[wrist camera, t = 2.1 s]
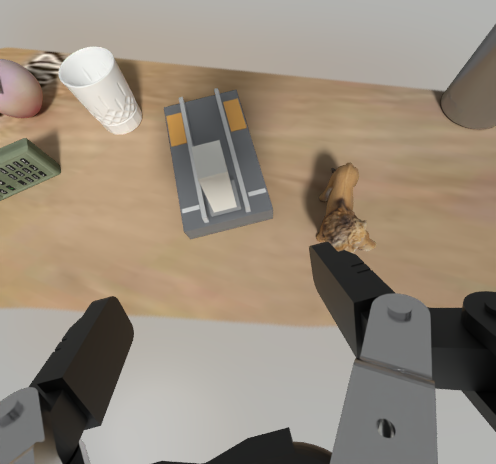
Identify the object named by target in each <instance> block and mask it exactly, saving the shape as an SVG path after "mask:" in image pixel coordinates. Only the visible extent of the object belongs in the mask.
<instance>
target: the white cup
mask: <svg viewBox="0 0 496 464" xmlns="http://www.w3.org/2000/svg"><path fill="white" fill-rule="evenodd" d="M59 78H60V80H61V82H62V83H63V84H64V85H65V86H66V87H67V88H68V89H69V90H70V91H71V92H72V94H73V95H74V96H75V97H76V98H77V99H78V100H79V101H80V102H81V103H82V104H83V106H84V107H85V108H86V109H87V110H88V111H89V112H90V113H91V114H92V115H93V116H94V117H95V118H96V119H97V120H98V121H99V122H100V123H101V124H102V125H103V126H104V127H105V128H106V130H107V131H109V132H111V133H113V134H116V135H123V134H126V133H129V132H132V131H133V130H134V129H135V128H137V127H138V126H139V124H140V122H141V120H142V112H141V110H140V108H139V106H138V104H137V102H136V100H135V98H134V95H133V93H132V91H131V89H130V87H129V85H128V83H127V81H126V79H125V77H124V76H123V74H122V72H121V70H120V68H119V66H118V64H117V62H116V60H115V59H114V57H113V55H112V53H111V52H110V51H108V50H107V49H105V48H102V47H87V48H83V49H80V50H78V51H76V52H74V53H72V54H71V55H69V56H68V57H67V58H66V59H65V60H64V61H63V63H62V64H61V66H60V69H59Z"/></svg>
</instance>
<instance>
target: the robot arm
mask: <svg viewBox="0 0 496 464" xmlns="http://www.w3.org/2000/svg"><path fill="white" fill-rule="evenodd" d="M441 106H442V109H443V111H444V113H445V114H446V115H447V117H448V118H450V119H451V120H452V121H453V122H455V123H457V124H459V125H461V126H464V127H467V128H471V129H488V128H492V127H494V126H496V24H495V25H494V27H493V28H492V30H491V31H490V32H489V34H488V35H487V36H486V38H485V39H484V40H483V42H482V43H481V44H480V46H479V47H478V48H477V50H476V51H475V52H474V54H473V55H472V57H471V58H470V59H469V60H468V62H467V63H466V64H465V66H464V67H463V68H462V70H461V71H460V72H459V74H458V75H457V76H456V78H455V79H454V80H453V82H452V83H451V84H450V86H449V88H447V90H446V91H445V92H444V94H443V96H442V98H441ZM309 252H310V259H311V266H312V273H313V279H314V283H315V286H316V289H317V291H318V293H319V295H320V297H321V298H322V300H323V302H324V303H325V305H326V307H327V309H328V310H329V312H330V314H331V315H332V317H333V319H334V320H335V322H336V324H337V326H338V327H339V329H340V331H341V332H342V334H343V336H344V338H345V339H346V341H347V343H348V344H349V346H350V348H351V349H352V351H353V353H354V355H355V356H356V359H355V361H354V364H353V368H352V372H351V376H350V381H349V384H348V389H347V393H346V398H345V401H344V406H343V410H342V414H341V418H340V423H339V427H338V431H337V435H336V439H335V444H334V448H333V452H330V451H328V450H326V449H324V448H321V447H319V446H316V445H312V444H308V443H304V442H293V440H292V437H291V433H290V429H289V427H288V428H285V429H281V430H278V431H273V432H270V433H266V434H262V435H258V436H255V437H251V438H247V439H246V440H244V441H242V442H241V443H239V444H237V445H236V446H234V447H232V448H231V449H229V450H227V451H225V452H224V453H222V454H220V455H219V456H217V457H216V458H214V459H212V460H210V461H208V462H206V463H203V464H438V456H437V426H436V398H435V388H437V389H451V390H462V392H463V393H464V394H465V395H466V396H467V398H468V399H469V400H470V401H471V402H472V404H473V405H474V406H475V407H476V408H477V410H478V411H479V412H480V413H481V415H482V416H483V417H484V418H485V419H486V421H487V422H488V423H489V424H490V425H491V427H492V428H493V429H494V430H495V432H496V292H487V291H484V292H475V293H472V294H469V295H468V296H466V297H465V299H464V301H463V307H462V308H428V307H426V306H425V305H424V304H423V303H422V302H421V301H419V300H417V299H416V298H413V297H411V296H408V295H404V294H396V293H395V292H394V291H393V290H392V289H391V288H390V287H389V286H388V285H387V284H386V283H384V282H383V281H382V280H381V279H380V278H379V277H378V276H377V275H376V274H375V273H374V272H373V271H372V270H370V268H369V267H368V266H367V265H366V264H364V262H363V261H362V260H361V259H360V258H359V257H358V256H357V255H355V254H353V253H351V252H348V251H346V250H342V251H337V250H336V249H335V248H334V247H333V246H332V245H331V244H330V243H329V242H323V243H320V244H316V245H312V246H310V247H309ZM133 337H134V330H133V326H132V324H131V322H130V320H129V318H128V316H127V315H126V313H125V311H124V309H123V307H122V306H121V304H120V302H119V300H118V299H117V298H116V297H114V296H112V297H108V298H104V299H100V300H96V301H93V302H92V303H91V304H90V306H89V307H88V309H87V310H86V312H85V313H84V315H83V316H82V317H81V318H80V319H79V320H78V321H77V322H76V323H75V324H74V325H73V326H72V327H70V329H69V330H68V332H67V333H66V334H65V336H64V337H63V339H62V342H60V343H59V344H58V346H57V347H56V349H55V352H53V353H52V354H51V356H50V357H49V359H48V360H47V361H46V363H45V364H44V366H43V367H42V369H41V370H40V372H39V373H38V374H37V376H36V377H35V379H34V380H33V381H32V383H31V384H30V386H29V387H28V388H24V389H21V390H18V391H16V392H14V393H13V394H11V395H9V396H8V397H6V398H5V399H3V400H2V401H1V402H0V464H90V461H89V457H88V453H87V450H86V447H85V444H84V442H83V441H82V440H81V439H80V438H81V435H82V433H83V431H84V430H86V429H90V428H93V427H97V426H101V424H102V421H103V418H104V416H105V413H106V410H107V408H108V405H109V402H110V400H111V397H112V395H113V392H114V389H115V387H116V384H117V381H118V379H119V376H120V373H121V370H122V368H123V365H124V362H125V360H126V357H127V355H128V352H129V349H130V347H131V344H132V341H133ZM153 464H196V463H182V462H169V461H160V462H156V463H153Z"/></svg>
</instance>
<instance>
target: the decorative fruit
mask: <svg viewBox="0 0 496 464" xmlns="http://www.w3.org/2000/svg"><path fill="white" fill-rule="evenodd" d="M42 102H43V93H42V89H41V86H40V84H39V82H38V81H37V79H36V78H35V77H34V76H33V75H32V74H31V73H30V72H29V71H28V70H27V69H26V68H24V67H23V66H21V65H19V64H18V63H16V62H13V61H10V60H5V59H0V113H2V114H5V115H7V116H11V117H15V118H28V117H32V116H34V115H36V114H37V113H38V112H39V111H40V109H41V106H42Z"/></svg>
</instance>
